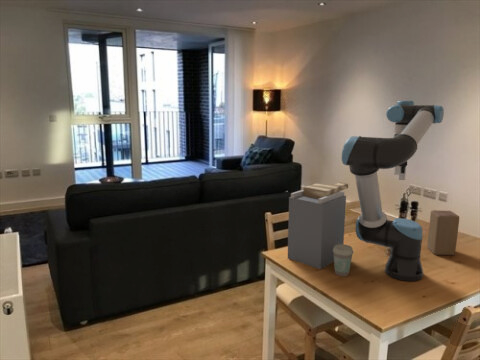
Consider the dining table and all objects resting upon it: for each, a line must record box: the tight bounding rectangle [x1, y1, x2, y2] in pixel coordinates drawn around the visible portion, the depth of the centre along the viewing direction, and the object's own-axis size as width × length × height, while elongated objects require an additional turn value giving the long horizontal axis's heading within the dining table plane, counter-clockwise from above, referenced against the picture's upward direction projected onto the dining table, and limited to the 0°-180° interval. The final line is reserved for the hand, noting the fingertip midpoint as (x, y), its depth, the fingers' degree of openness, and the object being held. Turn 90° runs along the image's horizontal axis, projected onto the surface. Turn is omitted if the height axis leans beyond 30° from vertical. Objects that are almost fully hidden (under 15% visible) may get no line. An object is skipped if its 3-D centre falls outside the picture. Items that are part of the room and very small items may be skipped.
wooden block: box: [426, 209, 460, 256], centre depth 186 cm, size 10×10×20 cm
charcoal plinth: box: [287, 189, 347, 270], centre depth 179 cm, size 20×18×32 cm
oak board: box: [302, 181, 349, 199], centre depth 183 cm, size 28×12×4 cm, turn 136°
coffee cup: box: [333, 243, 354, 277], centre depth 164 cm, size 8×8×12 cm
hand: (399, 177), depth 186 cm, fingers open, 13 cm apart
